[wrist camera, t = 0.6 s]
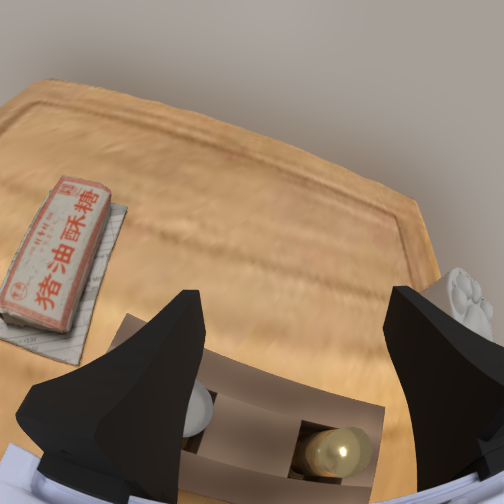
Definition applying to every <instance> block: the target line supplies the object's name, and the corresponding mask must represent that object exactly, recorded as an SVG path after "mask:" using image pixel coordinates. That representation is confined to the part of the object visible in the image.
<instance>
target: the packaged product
mask: <svg viewBox="0 0 504 504" xmlns="http://www.w3.org/2000/svg"><path fill="white" fill-rule="evenodd" d="M110 201H111V190H110V189H109V188H107V187H106V186H104V185H102V184H101V183H100V182H92V181H89V180H84V179H81V178H77V177H71V176H66V175H62V176H61V178H60V180H59V182H58V183H57V184H56V186H55V187H54V189H52V190H50V191H49V194H48V196H47V197H46V198H45V200H44V202H43V204H42V205H41V207H40V209H39V211H38V212H37V214H36V216H35V218H34V219H33V221H32V223H31V225H30V226H29V229H28V230H27V232H26V234H25V236H24V238H23V239H22V241H21V243H20V246H19V248H18V250H17V252H16V254H15V256H14V258H13V260H12V263H11V265H10V267H9V269H8V271H7V274H6V277H5V279H4V281H3V283H2V285H1V287H0V339H1V340H4V341H7V342H9V343H12V344H15V345H18V346H20V347H22V348H25V349H27V350H29V351H31V352H34V353H36V354H39V355H42V356H44V357H47V358H49V359H52V360H55V361H59V362H63V363H67V364H72V365H77V366H79V363H80V359H81V355H82V351H83V348H84V344H85V340H86V336H87V332H88V329H89V325H90V320H91V315H92V310H93V307H94V304H95V300H96V297H97V294H98V291H99V288H100V285H101V281H102V279H103V276H104V274H105V271H106V269H107V266H108V262H109V260H110V255H111V251H112V247H113V245H114V243H115V240H116V238H117V236H118V233H119V231H120V227H121V224H122V221H123V218H124V215H125V213H126V211H127V209H128V207H127V206H123V205H119V204H115V203H111V202H110Z"/></svg>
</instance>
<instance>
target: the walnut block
mask: <svg viewBox="0 0 504 504" xmlns="http://www.w3.org/2000/svg"><path fill="white" fill-rule="evenodd" d="M146 324H147V322H145V321H143V320H141V319H139V318H137V317H135V316H133V315H131V314H129V313H127V314H126V316H125V318H124V320H123V321H122V323H121V325H120V327H119V329H118V331H117V333H116V335H115V337H114V339H113V341H112V343H111V345H110V347H109V349H108V351H107V353H108V352H110V351H111V350H113V349H114V348H116V347H117V346H119V345H120V344H122V343H123V342H124V341H126V340H127V339H128V338H130V337H131V336H132V335H134V334H135V333H136V332H137V331H138V330H140V329H141V328H142V327H143V326H144V325H146ZM196 379H197V380H198V381H199V382H201V383H202V384H203V385H204V386H205V387H206V389H207V390H208V392H209V393H210V396H211V398H212V402H213V414H212V418H211V420H210V422H209V424H208V425H207V426H206V428H205V429H203V430H202V431H201V432H199V433H198V434H196V435H193V436H190V437H189V440H188V443H187V446H186V448H185V451H184V450H181V457H180V468H179V480H178V489H182V490H185V491H188V492H191V493H195V494H198V495H202V496H205V497H209V498H213V499H217V500H221V501H225V502H229V503H234V504H369V500H370V495H371V491H372V486H373V482H374V477H375V472H376V466H377V461H378V455H379V449H380V443H381V436H382V429H383V422H384V414H385V407H383V406H378V405H374V404H370V403H366V402H362V401H358V400H355V399H351V398H347V397H344V396H340V395H336V394H333V393H329V392H326V391H323V390H319V389H316V388H313V387H310V386H306V385H303V384H300V383H297V382H294V381H291V380H288V379H285V378H282V377H279V376H276V375H273V374H270V373H267V372H265V371H262V370H259V369H256V368H253V367H251V366H248V365H245V364H243V363H240V362H237V361H235V360H232V359H230V358H227V357H225V356H222V355H220V354H217V353H215V352H212V351H210V350H207V349H205V348H204V349H203V356H202V359H201V363H200V366H199V370H198V373H197V377H196ZM345 427H357V428H360V429H362V430H363V431H364V432H365V433H366V434H367V435H368V437H369V439H370V441H371V445H372V455H371V459H370V462H369V464H368V466H367V467H366V468H365V470H364V471H363V472H361V473H360V474H359V475H357V476H354V477H351V478H340V477H322V476H310V475H304V479H303V480H297V479H291V478H287V476H288V472H289V469H290V465H291V461H292V457H293V454H294V450H295V446H296V442H297V438H298V434H309V433H316V432H322V431H328V430H334V429H340V428H345Z"/></svg>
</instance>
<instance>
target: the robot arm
mask: <svg viewBox="0 0 504 504" xmlns="http://www.w3.org/2000/svg"><path fill="white" fill-rule="evenodd" d="M383 332H384V336H385V341H386V345H387V348H388V352H389V354H390V357H391V360H392V362H393V365H394V367H395V370H396V373H397V375H398V378H399V380H400V383H401V386H402V388H403V391H404V394H405V397H406V400H407V404H408V408H409V413H410V417H411V422H412V428H413V435H414V441H415V450H416V461H417V493H414V494H410V495H407V496H403V497H399V498H395V499H390V500H386V501H381V502H376V503H371V504H504V347H502V346H500V345H498V344H496V343H493V342H491V341H490V340H488V339H486V338H484V337H482V336H480V335H479V334H477V333H475V332H473V331H472V330H470V329H468V328H467V327H465V326H464V325H462V324H461V323H459V322H458V321H456V320H455V319H453V318H452V317H451V316H449V315H448V314H446V313H445V312H444V311H442V310H441V309H440V308H438V307H437V306H435V305H434V304H433V303H431V302H430V301H429V300H427V299H426V298H425V297H423V296H422V295H421V294H419V293H418V292H416V291H415V290H413V289H412V288H410V287H408V286H393V289H392V293H391V297H390V301H389V306H388V310H387V314H386V317H385V321H384V325H383ZM205 336H206V330H205V324H204V318H203V312H202V306H201V299H200V293H199V290H182V291H181V292H180V293H179V294H178V295H177V296H176V297H175V298H174V299H173V300H172V301H171V302H170V303H169V304H168V305H166V306H165V307H164V308H163V309H162V310H161V311H160V312H159V313H158V314H157V315H156V316H155V317H154V318H153V319H151V320H150V321H149V322H148V323H147V324H146V325H144V326H143V327H142V328H141V329H140V330H138V331H137V332H136V333H135V334H134V335H132V336H131V337H130V338H128V339H127V340H126V341H124V342H123V343H122V344H120V345H119V346H117V347H116V348H114V349H113V350H111V351H110V352H108V353H106V354H105V355H103V356H101V357H99V358H98V359H96V360H94V361H92V362H91V363H89V364H87V365H85V366H83V367H81V368H79V369H76V370H74V371H72V372H70V373H67V374H65V375H62V376H60V377H57V378H54V379H51V380H48V381H45V382H42V383H39V384H36V385H33V386H32V387H31V389H30V390H29V392H28V394H27V395H26V397H25V399H24V400H23V402H22V404H21V405H20V407H19V409H18V411H17V412H16V420H17V422H18V424H19V426H20V427H21V428H22V430H23V431H24V432H25V433H26V434H27V435H28V436H29V437H30V438H31V439H32V440H33V441H34V442H35V443H36V444H37V445H38V446H39V447H40V448H41V449H42V450H43V451H44V454H43V456H42V458H40V457H38V456H37V455H35V454H33V453H31V452H30V451H27V450H25V449H23V448H21V447H19V446H18V445H16V444H14V443H10V444H9V446H8V448H7V450H6V452H5V454H4V456H3V458H2V460H1V462H0V504H177V499H178V480H179V468H180V457H181V449H182V441H183V433H184V426H185V420H186V414H187V409H188V405H189V401H190V397H191V394H192V390H193V387H194V384H195V380H196V377H197V373H198V370H199V366H200V363H201V359H202V356H203V349H204V343H205Z"/></svg>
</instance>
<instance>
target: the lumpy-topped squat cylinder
mask: <svg viewBox="0 0 504 504" xmlns="http://www.w3.org/2000/svg"><path fill="white" fill-rule="evenodd" d="M421 295H422V296H423V297H425V298H426V299H427V300H429V301H430V302H431V303H433V304H434V305H435V306H437V307H438V308H440V309H441V310H442V311H444V312H445V313H446V314H448V315H449V316H451V317H452V318H453V319H455V320H456V321H458V322H459V323H461V324H462V325H464V326H465V327H467V328H468V329H470V330H472V331H473V332H475V333H477V334H479V335H480V336H482V337H484V338H486V339H488V340H490V341H491V342H493V336H492V330H491V324H490V322H491V321H492V319H493V309H492V306H491V305H490V304H489V303H488V302H487V301H485V300H484V297H483V296H482V291H481V287H480V285H479V284H478V283H477V282H476V281H475V280H472V279H471V278H470V276H469V274H468V273H466V272H465V271H464V270H463V269H460V268H453V269H452V270H450V271H449V272H448V273H447V274H445V275H444V276H443V277H442V278H440V279H439V280H438V281H436V282H435V283H434V284H433V285H431V286H430V287H429V288H427V289H426V290H425V291H423V292H422V293H421Z"/></svg>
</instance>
